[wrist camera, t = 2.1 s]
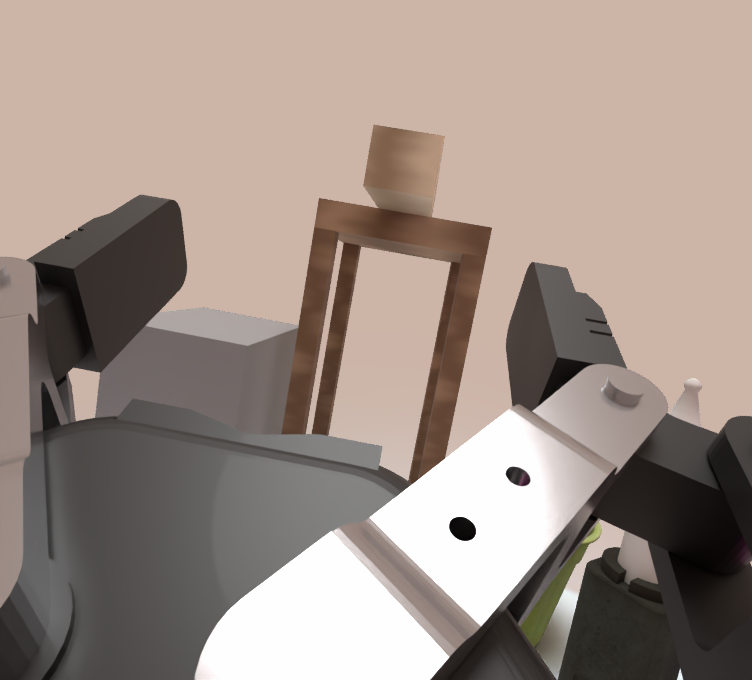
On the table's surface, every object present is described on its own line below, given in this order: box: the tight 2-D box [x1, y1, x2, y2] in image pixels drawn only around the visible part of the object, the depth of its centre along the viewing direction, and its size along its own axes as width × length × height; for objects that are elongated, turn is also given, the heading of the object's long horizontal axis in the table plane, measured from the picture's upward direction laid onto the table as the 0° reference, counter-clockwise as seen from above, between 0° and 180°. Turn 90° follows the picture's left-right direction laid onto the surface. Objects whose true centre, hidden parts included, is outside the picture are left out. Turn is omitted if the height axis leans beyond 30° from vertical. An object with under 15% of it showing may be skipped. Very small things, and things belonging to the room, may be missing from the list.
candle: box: [558, 378, 702, 680], centre depth 30 cm, size 5×5×25 cm
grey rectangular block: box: [95, 308, 299, 435], centre depth 39 cm, size 9×14×22 cm, turn 175°
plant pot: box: [520, 522, 602, 647], centre depth 43 cm, size 12×12×11 cm
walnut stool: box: [281, 198, 492, 484], centre depth 44 cm, size 12×15×32 cm
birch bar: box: [363, 125, 444, 217], centre depth 37 cm, size 4×24×3 cm, turn 175°
